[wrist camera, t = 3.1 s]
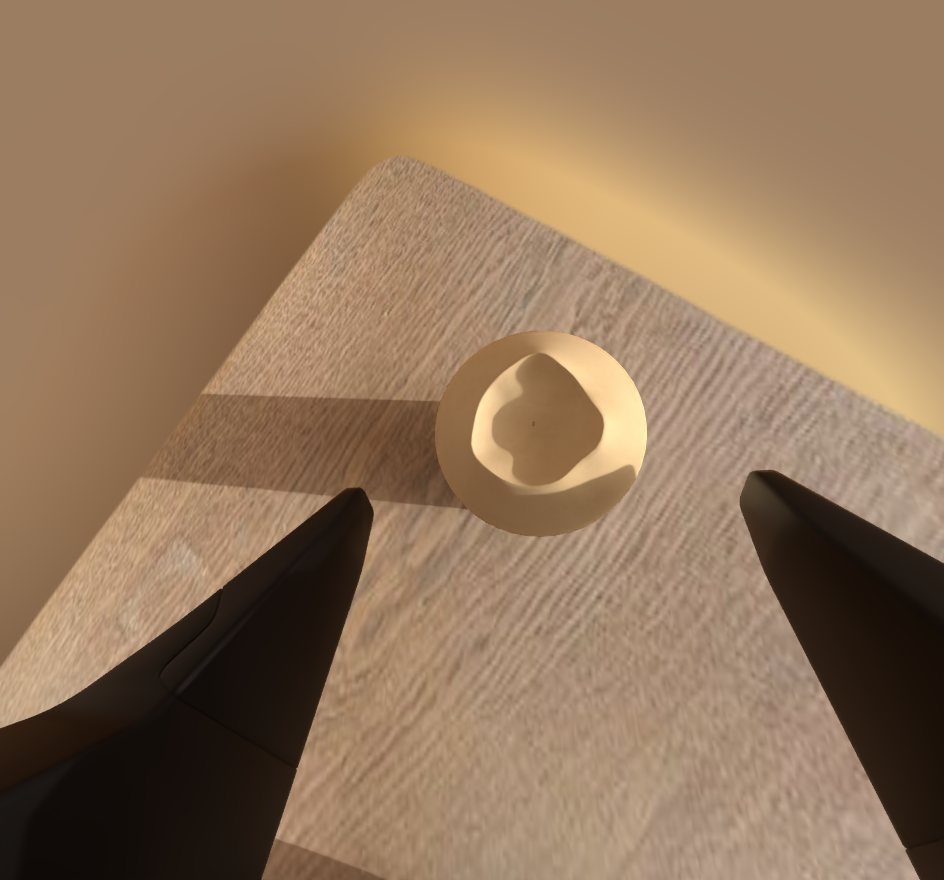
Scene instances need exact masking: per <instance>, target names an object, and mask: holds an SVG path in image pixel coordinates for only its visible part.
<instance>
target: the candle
mask: <svg viewBox="0 0 944 880" xmlns="http://www.w3.org/2000/svg"><path fill="white" fill-rule="evenodd" d="M646 439H647V429H646V418H645V412H644V408H643V404H642V401H641V398H640V395H639V393H638V391H637V389H636V387H635V385H634V383H633V381H632V380H631V378H630V377H629V375H628V374H627V372H626V371H625V370H624V369H623V368H622V367H621V365H620V364H619V363H618V362H617V361H616V360H615V359H614V358H613V357H611V356H610V355H609V354H608V353H607V352H605V351H604V350H602V349H601V348H599V347H598V346H596V345H595V344H593V343H590V342H588V341H586V340H584V339H582V338H579V337H576V336H573V335H570V334H565V333H560V332H553V331H529V332H524V333H518V334H514V335H511V336H507V337H504V338H502V339H500V340H497V341H495V342H493V343H491V344H489V345H487V346H486V347H484V348H482V349H481V350H479V351H478V352H477V353H476V354H474V355H473V356H472V357H470V358H469V359H468V360H467V361H466V362H465V363H464V364H463V365H462V366H461V367H460V369H459V370H458V371H457V372H456V374H455V375H454V376H453V378H452V379H451V381H450V383H449V384H448V386H447V388H446V390H445V392H444V394H443V397H442V399H441V402H440V405H439V408H438V412H437V418H436V424H435V444H436V452H437V457H438V461H439V464H440V467H441V470H442V473H443V475H444V477H445V479H446V481H447V483H448V485H449V486H450V488H451V489H452V491H453V492H454V494H455V495H456V497H457V498H458V499H459V500H460V501H461V502H462V503H463V505H464V506H465V507H466V508H468V509H469V510H470V511H471V512H472V513H473V514H474V515H476V516H477V517H479V518H480V519H482V520H483V521H485V522H486V523H489V524H491V525H493V526H495V527H497V528H499V529H502V530H505V531H508V532H511V533H515V534H520V535H525V536H538V537H542V536H555V535H560V534H565V533H569V532H572V531H575V530H578V529H581V528H583V527H585V526H587V525H589V524H591V523H593V522H595V521H597V520H598V519H600V518H601V517H603V516H604V515H605V514H607V513H608V512H609V511H610V510H611V509H613V508H614V507H615V506H616V505H617V504H618V503H619V502H620V501H621V499H622V498H623V497H624V496H625V494H626V493H627V492H628V491H629V489H630V487H631V486H632V484H633V482H634V481H635V479H636V477H637V474H638V472H639V470H640V467H641V465H642V461H643V457H644V453H645V448H646Z"/></svg>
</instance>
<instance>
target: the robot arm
mask: <svg viewBox="0 0 944 880" xmlns="http://www.w3.org/2000/svg"><path fill="white" fill-rule="evenodd" d="M740 508H741V511H742V513H743V516H744V519H745V522H746V524H747V527H748V530H749V532H750V535H751V538H752V541H753V543H754V546H755V549H756V551H757V554H758V557H759V560H760V562H761V565H762V567H763V570H764V572H765V574H766V577H767V579H768V581H769V583H770V585H771V587H772V589H773V591H774V593H775V595H776V597H777V599H778V601H779V603H780V605H781V607H782V609H783V610H784V612H785V614H786V616H787V618H788V620H789V622H790V624H791V626H792V628H793V630H794V632H795V634H796V636H797V638H798V640H799V642H800V644H801V646H802V648H803V650H804V652H805V654H806V656H807V658H808V660H809V662H810V664H811V666H812V667H813V669H814V671H815V673H816V675H817V677H818V679H819V681H820V683H821V685H822V687H823V689H824V691H825V693H826V695H827V697H828V699H829V701H830V703H831V705H832V707H833V709H834V711H835V713H836V715H837V717H838V719H839V721H840V722H841V724H842V726H843V728H844V730H845V732H846V734H847V736H848V738H849V740H850V742H851V744H852V746H853V748H854V750H855V752H856V754H857V756H858V758H859V760H860V762H861V764H862V766H863V768H864V770H865V772H866V774H867V776H868V778H869V779H870V781H871V783H872V785H873V787H874V789H875V791H876V793H877V795H878V797H879V799H880V801H881V803H882V805H883V807H884V809H885V811H886V813H887V815H888V817H889V819H890V821H891V823H892V825H893V827H894V829H895V831H896V833H897V834H898V836H899V838H900V840H901V842H902V844H903V846H904V847H905V848H907V849H906V853H907V855H908V857H909V859H910V861H911V863H912V865H913V867H914V869H915V871H916V873H917V875H918V877H919V879H920V880H944V563H942V562H940V561H939V560H937V559H935V558H933V557H931V556H929V555H928V554H926V553H924V552H922V551H920V550H919V549H917V548H915V547H913V546H911V545H910V544H908V543H906V542H904V541H902V540H900V539H899V538H897V537H895V536H893V535H891V534H890V533H888V532H886V531H884V530H882V529H881V528H879V527H877V526H875V525H873V524H871V523H870V522H868V521H866V520H864V519H862V518H861V517H859V516H857V515H855V514H853V513H852V512H850V511H848V510H846V509H844V508H842V507H841V506H839V505H837V504H835V503H833V502H832V501H830V500H828V499H826V498H824V497H823V496H821V495H819V494H817V493H815V492H814V491H812V490H810V489H808V488H806V487H804V486H803V485H801V484H799V483H797V482H795V481H794V480H792V479H790V478H788V477H786V476H785V475H783V474H781V473H779V472H777V471H774V470H759V471H752V472H751V473H750V474H749V475H748V477H747V480H746V482H745V485H744V488H743V491H742V493H741V496H740ZM373 517H374V512H373V508H372V506H371V504H370V502H369V499H368V497H367V495H366V493H365V491H364V490H363V489H362V488H359V487H358V488H347V489H345V490H343V491H342V492H341V493H340V494H338V495H337V496H336V497H335V498H333V499H332V500H331V501H330V502H328V503H327V504H326V505H325V506H323V507H322V508H321V509H320V510H318V511H317V512H316V513H315V514H313V515H312V516H311V517H310V518H308V519H307V520H306V521H305V522H303V523H302V524H301V525H300V526H298V527H297V528H296V529H295V530H293V531H292V532H291V533H290V534H288V535H287V536H286V537H285V538H283V539H282V540H281V541H280V542H278V543H277V544H276V545H275V546H273V547H272V548H271V549H270V550H268V551H267V552H266V553H265V554H263V555H262V556H261V557H259V558H258V559H257V560H256V561H254V562H253V563H252V564H251V565H249V566H248V567H247V568H246V569H244V570H243V571H242V572H241V573H239V574H238V575H237V576H236V577H234V578H233V579H232V580H231V581H229V582H228V583H227V584H226V585H224V586H223V589H219V590H218V591H217V592H216V593H214V594H213V595H212V596H211V597H209V598H208V599H207V600H206V601H204V602H203V603H202V604H200V605H199V606H198V607H197V608H195V609H194V610H193V611H191V612H190V613H189V614H188V615H186V616H185V617H184V618H182V619H181V620H180V621H178V622H177V623H176V624H174V625H173V626H172V627H170V628H169V629H168V630H166V631H165V632H163V633H162V634H161V635H159V636H158V637H157V638H155V639H154V640H152V641H151V642H150V643H148V644H147V645H145V646H144V647H143V648H141V649H140V650H138V651H137V652H136V653H134V654H133V655H131V656H130V657H129V658H127V659H126V660H124V661H123V662H122V663H120V664H119V665H117V666H116V667H115V668H113V669H112V670H111V671H109V672H108V673H106V674H105V675H104V676H102V677H101V678H99V679H98V680H97V681H95V682H94V683H92V684H91V685H90V686H88V687H87V688H85V689H84V690H82V691H81V692H79V693H78V694H76V695H75V696H73V697H71V698H70V699H68V700H66V701H65V702H63V703H61V704H59V705H57V706H55V707H53V708H51V709H49V710H47V711H45V712H42V713H40V714H38V715H36V716H33V717H30V718H28V719H25V720H22V721H20V722H17V723H14V724H11V725H8V726H6V727H3V728H0V880H261V879H262V876H263V873H264V870H265V867H266V864H267V860H268V857H269V854H270V851H271V848H272V845H273V842H274V839H275V836H276V833H277V830H278V827H279V824H280V821H281V818H282V815H283V812H284V809H285V806H286V802H287V799H288V796H289V793H290V790H291V787H292V784H293V781H294V778H295V775H296V772H297V769H296V768H297V767H298V765H299V762H300V759H301V756H302V753H303V750H304V747H305V744H306V741H307V737H308V734H309V731H310V728H311V725H312V722H313V719H314V716H315V713H316V710H317V707H318V704H319V701H320V698H321V695H322V692H323V689H324V686H325V682H326V679H327V676H328V673H329V670H330V667H331V664H332V661H333V658H334V655H335V652H336V649H337V646H338V643H339V640H340V637H341V634H342V630H343V627H344V624H345V621H346V618H347V615H348V612H349V609H350V606H351V603H352V600H353V597H354V594H355V591H356V588H357V585H358V582H359V578H360V575H361V572H362V568H363V564H364V560H365V555H366V550H367V546H368V541H369V536H370V531H371V527H372V522H373Z"/></svg>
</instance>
